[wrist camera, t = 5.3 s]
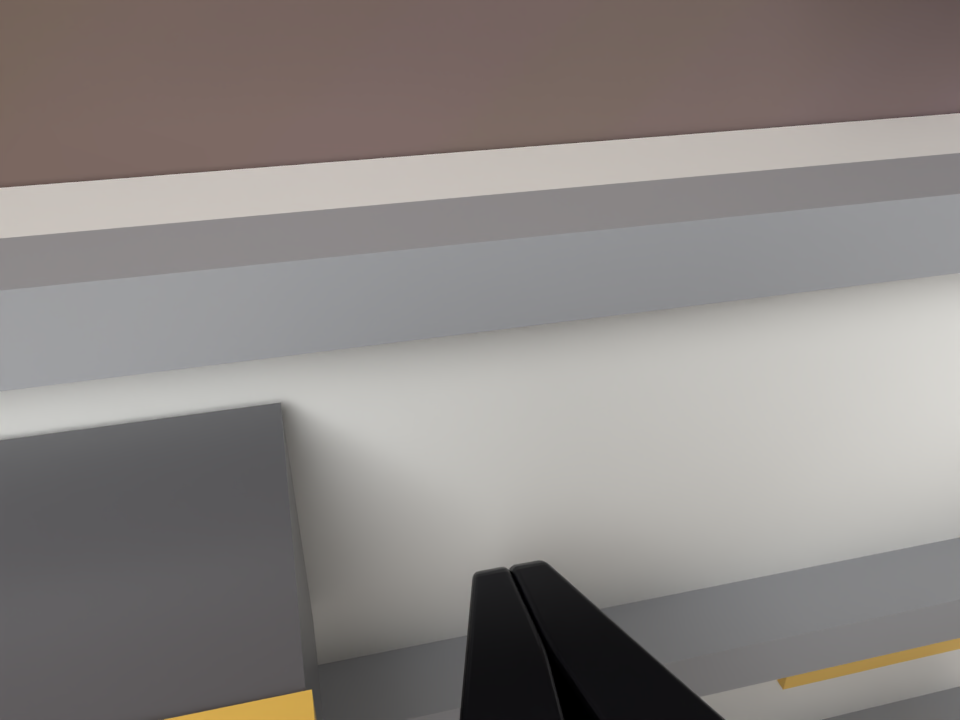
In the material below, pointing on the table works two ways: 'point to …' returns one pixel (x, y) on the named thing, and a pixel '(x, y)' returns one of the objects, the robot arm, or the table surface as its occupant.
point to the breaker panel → (557, 391)
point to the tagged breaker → (155, 573)
